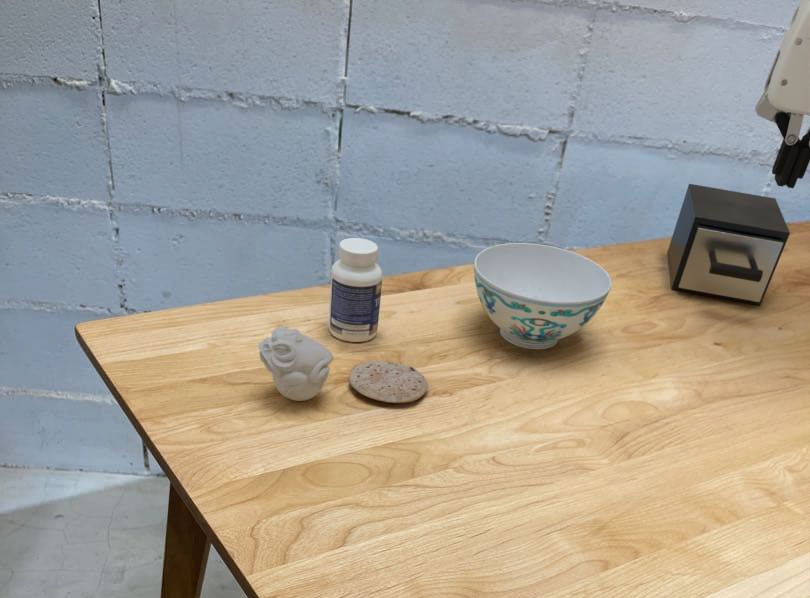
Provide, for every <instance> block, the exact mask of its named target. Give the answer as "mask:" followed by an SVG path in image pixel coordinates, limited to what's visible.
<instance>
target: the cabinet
mask: <svg viewBox="0 0 810 598" xmlns="http://www.w3.org/2000/svg"><path fill="white" fill-rule="evenodd" d="M699 224H702V225H708V226H714V227H720V228H725V229H731V230H737V231H743V232H748V233H754V234H760V235H766V236H771V237H774V238H775V239H781V240H782V241H783V246H782V248H781V251H780V253H779V256H778V258H777V260H776V263H775V265H774V268H773V270H772V273H771V275H770V278H769V280H768V282H767V285H766V287H765V290H764V292H763V295H762V297H761V300H760V302H755V301H750V300H744V299H739V298H733V297H728V296H722V295H717V294H711V293H705V292H700V291H694V290H689V289H683V288H679V286H678V283H679V280H680V277H681V274H682V271H683V268H684V265H685V262H686V259H687V256H688V253H689V250H690V247H691V244H692V241H693V238H694V235H695V232H696V229H697V226H698V225H699ZM790 235H791V232H790V229H789V227H788V224H787V222H786V220H785V218H784V216H783V212H782V211H781V208H780V206H779V203H778V201H777V199H776V197H770V196H764V195H758V194H757V195H756V194H752V193H746V192H741V191H735V190H728V189H723V188H716V187H711V186H705V185H700V184H693V183H688V186H687V189H686V193H685V195H684V199H683V202H682V205H681V208H680V210H679V214H678V218H677V221H676V224H675V227H674V230H673V233H672V236H671V239H670V243H669V246H668V249H667V262H668V270H669V271H668V272H669V279H670V280H669V281H670V289H671V290H672V291H676V292H682V293H687V294H693V295H698V296H704V297H710V298H715V299H721V300H726V301H731V302H738V303H743V304H749V305H754V306H761V305H762V303H763V301H764V298H765V295H766V293H767V291H768V288H769V286H770V283H771V281H772V279H773V276H774V274H775V272H776V269H777V267H778V264H779V261H780V259H781V257H782V254H783V251H784V249H785V247H786V244H787V242H788V239H789V237H790Z"/></svg>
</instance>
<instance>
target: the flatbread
mask: <svg viewBox="0 0 810 598" xmlns="http://www.w3.org/2000/svg"><path fill="white" fill-rule="evenodd" d="M348 382H349V385H350V386H351V387H352V388H353V389H354V390H355V391H356V392H357V393H359V394H360V395H362V396H365V397H366V398H369V399H372V400H376V401H379V402H384V403H391V404H404V403H411V402H415V401H417V400H419V399H420V398H422V397H423V396H424V395H425V394H426V393H427V391H428V388H429V383H428V381H427V379H426V378H425V376H424V375H423V374H422V372H420V371H418V370H417V369H416V368H414V367H413V366H410V365H406V364H401V363H395V362H390V361H382V360H381V361H378V360H372V361H368V362H365V363H358V364H355V365H353V367H352V370H351V373H350V375H349V379H348Z"/></svg>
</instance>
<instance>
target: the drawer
mask: <svg viewBox="0 0 810 598" xmlns="http://www.w3.org/2000/svg"><path fill="white" fill-rule="evenodd" d="M782 246H783V241H782V240H781V239H775V238H774V237H771V236H766V235H760V234H754V233H748V232H743V231H737V230H731V229H725V228H720V227H714V226H708V225H702V224H699V225H698V226H697V229H696V232H695V235H694V238H693V241H692V244H691V247H690V250H689V253H688V256H687V259H686V262H685V265H684V268H683V271H682V274H681V277H680V280H679V283H678V286H679V288H683V289H689V290H694V291H700V292H705V293H711V294H717V295H722V296H728V297H733V298H739V299H744V300H750V301H755V302H760V300H761V297H762V295H763V292H764V290H765V287H766V285H767V282H768V280H769V278H770V275H771V273H772V270H773V268H774V265H775V263H776V260H777V258H778V256H779V253H780V251H781V248H782Z"/></svg>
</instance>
